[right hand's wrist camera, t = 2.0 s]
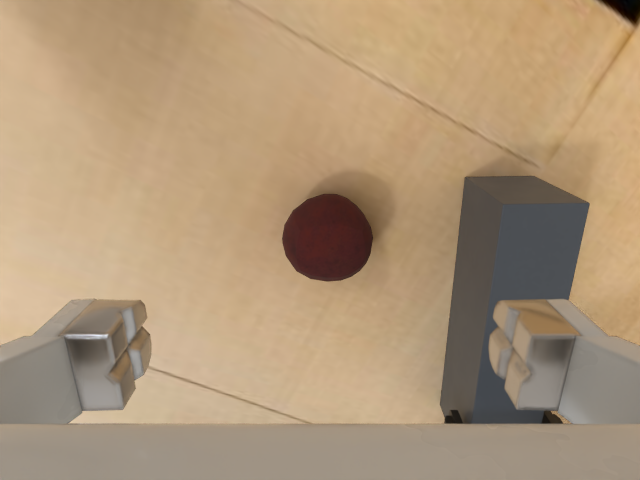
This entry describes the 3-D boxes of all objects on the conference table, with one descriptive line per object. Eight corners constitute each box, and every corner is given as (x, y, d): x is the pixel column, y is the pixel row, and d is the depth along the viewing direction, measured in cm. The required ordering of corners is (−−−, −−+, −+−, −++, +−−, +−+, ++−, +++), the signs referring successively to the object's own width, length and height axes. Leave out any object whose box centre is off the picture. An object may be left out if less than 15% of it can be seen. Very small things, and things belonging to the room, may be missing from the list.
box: (464, 176, 40) (503, 204, 32) (533, 175, 40) (590, 202, 32) (439, 404, 49) (464, 470, 41) (495, 403, 49) (531, 469, 41)
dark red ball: (367, 258, 42) (377, 293, 36) (286, 261, 42) (281, 296, 36) (367, 183, 40) (378, 206, 33) (281, 186, 40) (275, 210, 33)
